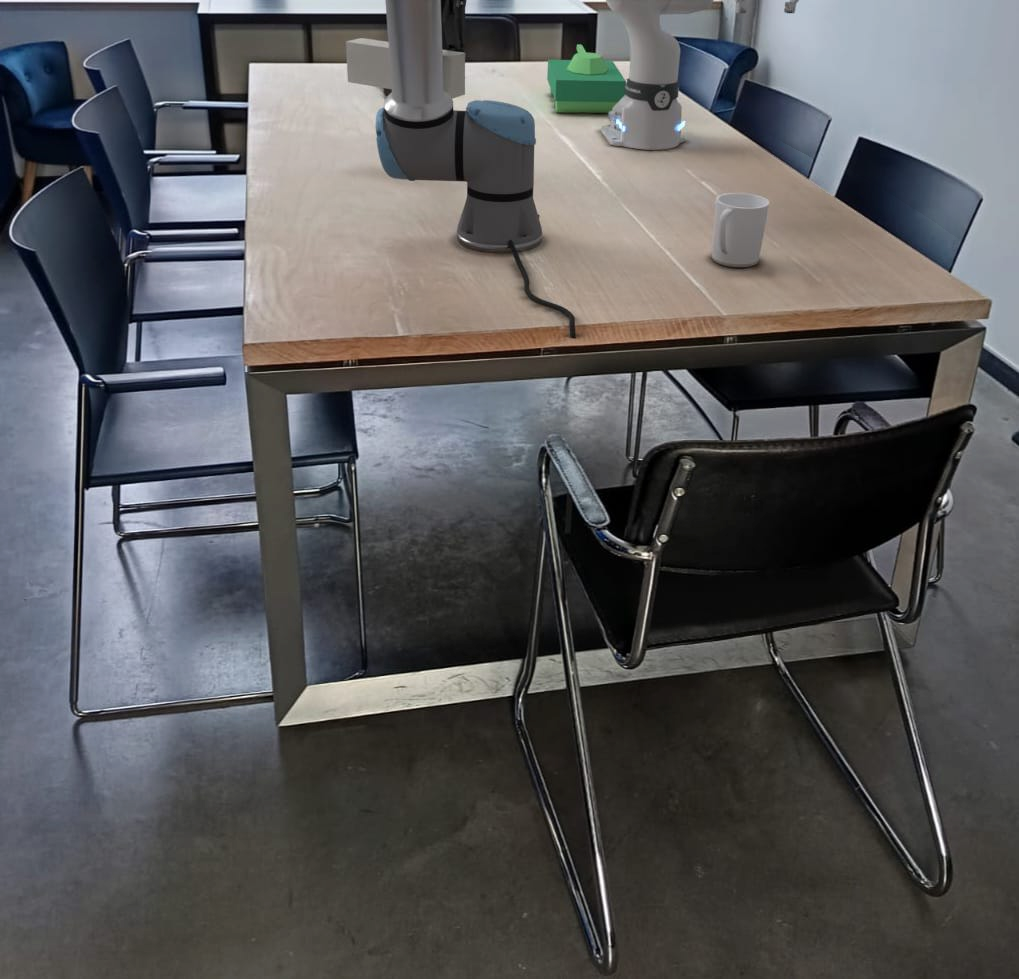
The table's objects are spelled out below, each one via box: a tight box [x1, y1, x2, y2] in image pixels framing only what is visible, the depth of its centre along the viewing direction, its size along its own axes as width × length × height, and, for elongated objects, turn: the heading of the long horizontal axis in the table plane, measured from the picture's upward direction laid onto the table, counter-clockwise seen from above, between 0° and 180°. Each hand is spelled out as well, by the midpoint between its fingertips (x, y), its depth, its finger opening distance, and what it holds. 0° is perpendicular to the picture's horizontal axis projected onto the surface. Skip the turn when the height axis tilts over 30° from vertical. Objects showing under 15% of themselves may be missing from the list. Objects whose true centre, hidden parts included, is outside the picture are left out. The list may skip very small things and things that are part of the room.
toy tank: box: [546, 44, 627, 114], centre depth 291 cm, size 18×12×35 cm
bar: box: [345, 37, 466, 100], centre depth 222 cm, size 26×5×8 cm, turn 59°
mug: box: [711, 192, 770, 268], centre depth 186 cm, size 11×9×10 cm
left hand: (443, 90), depth 219 cm, fingers closed on bar, 5 cm apart
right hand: (764, 12), depth 203 cm, fingers open, 8 cm apart
